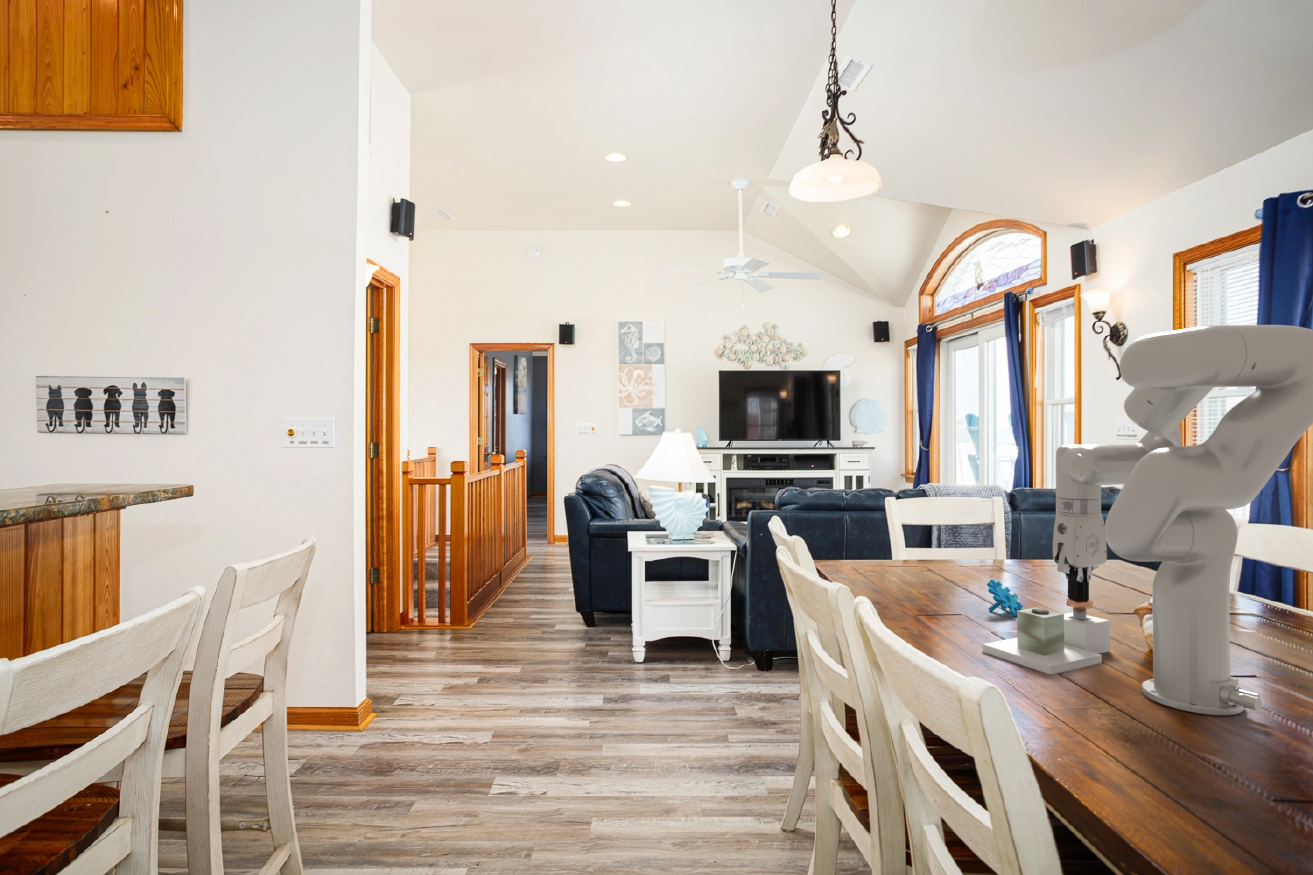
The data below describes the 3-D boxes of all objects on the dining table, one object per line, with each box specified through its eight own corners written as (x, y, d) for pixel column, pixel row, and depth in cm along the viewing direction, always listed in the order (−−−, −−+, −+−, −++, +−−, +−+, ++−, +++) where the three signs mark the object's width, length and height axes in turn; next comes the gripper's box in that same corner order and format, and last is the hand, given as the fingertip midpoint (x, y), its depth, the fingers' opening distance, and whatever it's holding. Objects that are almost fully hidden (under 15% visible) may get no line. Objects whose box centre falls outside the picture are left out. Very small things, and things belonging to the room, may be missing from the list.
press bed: (1128, 656, 126) (1128, 624, 126) (1050, 674, 117) (1050, 640, 117) (1057, 636, 139) (1057, 607, 139) (982, 651, 130) (982, 620, 130)
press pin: (1098, 632, 130) (1098, 601, 130) (1083, 635, 128) (1083, 604, 128) (1076, 626, 134) (1075, 597, 134) (1061, 629, 132) (1061, 599, 132)
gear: (1013, 614, 151) (983, 577, 157) (993, 628, 154) (965, 592, 160) (1035, 613, 157) (1006, 577, 163) (1016, 627, 160) (988, 592, 166)
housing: (1064, 651, 125) (1063, 611, 125) (1044, 655, 123) (1044, 615, 123) (1037, 643, 130) (1036, 605, 130) (1017, 647, 128) (1017, 608, 128)
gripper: (1071, 511, 125) (1071, 609, 125) (1121, 507, 131) (1121, 600, 131) (1034, 507, 132) (1034, 600, 132) (1083, 503, 138) (1084, 591, 138)
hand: (1078, 599), depth 132 cm, fingers closed
